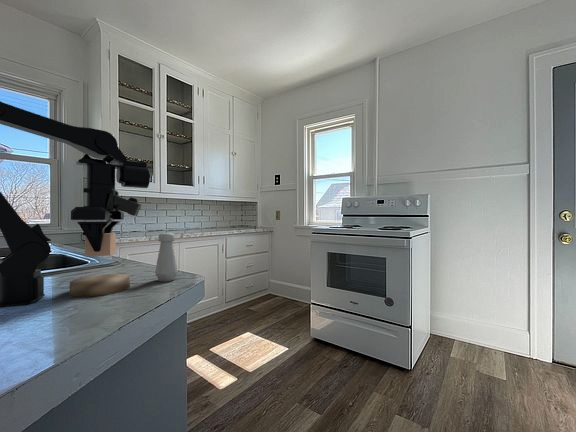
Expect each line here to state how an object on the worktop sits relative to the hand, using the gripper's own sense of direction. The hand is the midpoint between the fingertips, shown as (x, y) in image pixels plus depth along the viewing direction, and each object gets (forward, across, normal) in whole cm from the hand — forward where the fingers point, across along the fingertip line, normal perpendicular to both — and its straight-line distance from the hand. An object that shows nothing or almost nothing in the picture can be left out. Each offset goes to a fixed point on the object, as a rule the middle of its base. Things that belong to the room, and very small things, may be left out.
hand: (100, 250), depth 67 cm
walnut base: (+9, 0, 0) cm, 9 cm away
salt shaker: (+10, +6, -14) cm, 18 cm away
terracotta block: (+1, 0, 0) cm, 1 cm away
